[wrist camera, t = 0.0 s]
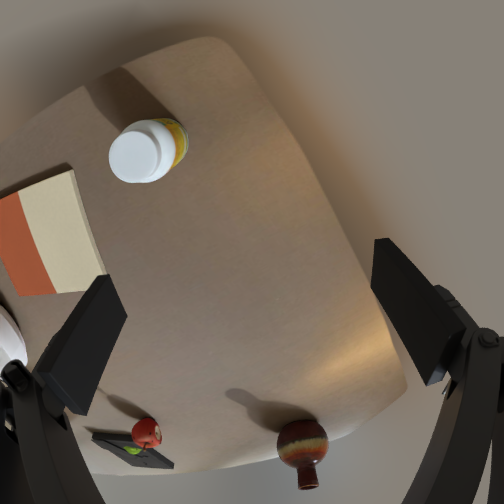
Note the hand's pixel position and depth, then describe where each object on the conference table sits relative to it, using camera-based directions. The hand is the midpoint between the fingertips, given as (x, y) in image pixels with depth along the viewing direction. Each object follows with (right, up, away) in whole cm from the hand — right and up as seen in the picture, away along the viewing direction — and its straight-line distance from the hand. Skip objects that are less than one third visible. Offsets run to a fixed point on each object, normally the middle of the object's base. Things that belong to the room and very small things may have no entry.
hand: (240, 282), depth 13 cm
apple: (-22, -36, +39) cm, 57 cm away
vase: (+11, -37, +41) cm, 56 cm away
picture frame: (-34, -56, +49) cm, 81 cm away
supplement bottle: (-9, +13, +14) cm, 21 cm away
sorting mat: (-29, +3, +18) cm, 35 cm away
